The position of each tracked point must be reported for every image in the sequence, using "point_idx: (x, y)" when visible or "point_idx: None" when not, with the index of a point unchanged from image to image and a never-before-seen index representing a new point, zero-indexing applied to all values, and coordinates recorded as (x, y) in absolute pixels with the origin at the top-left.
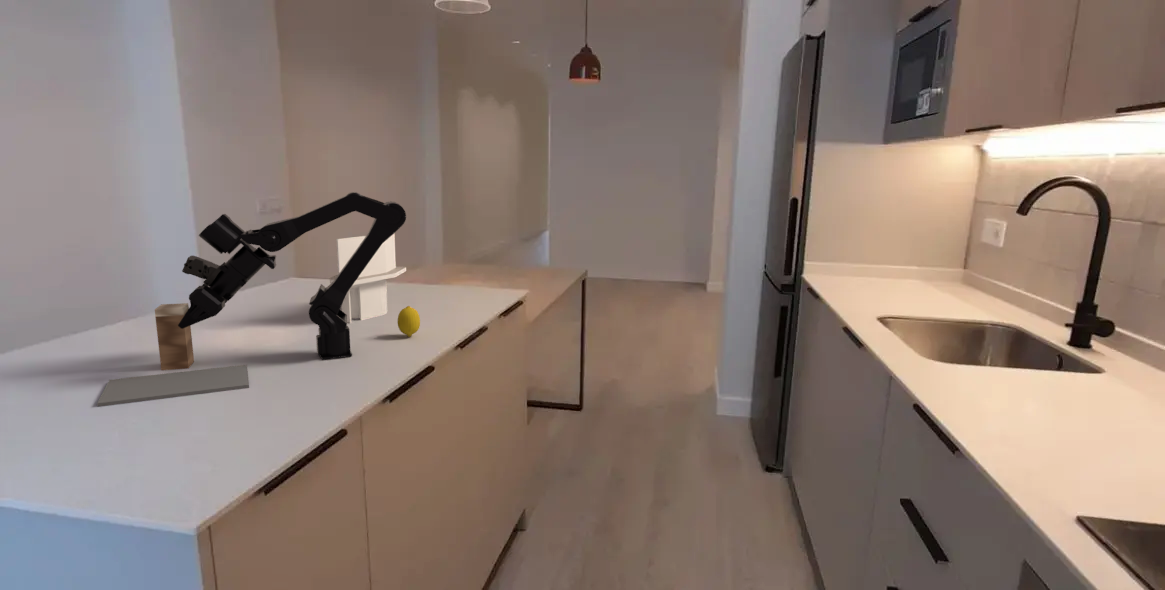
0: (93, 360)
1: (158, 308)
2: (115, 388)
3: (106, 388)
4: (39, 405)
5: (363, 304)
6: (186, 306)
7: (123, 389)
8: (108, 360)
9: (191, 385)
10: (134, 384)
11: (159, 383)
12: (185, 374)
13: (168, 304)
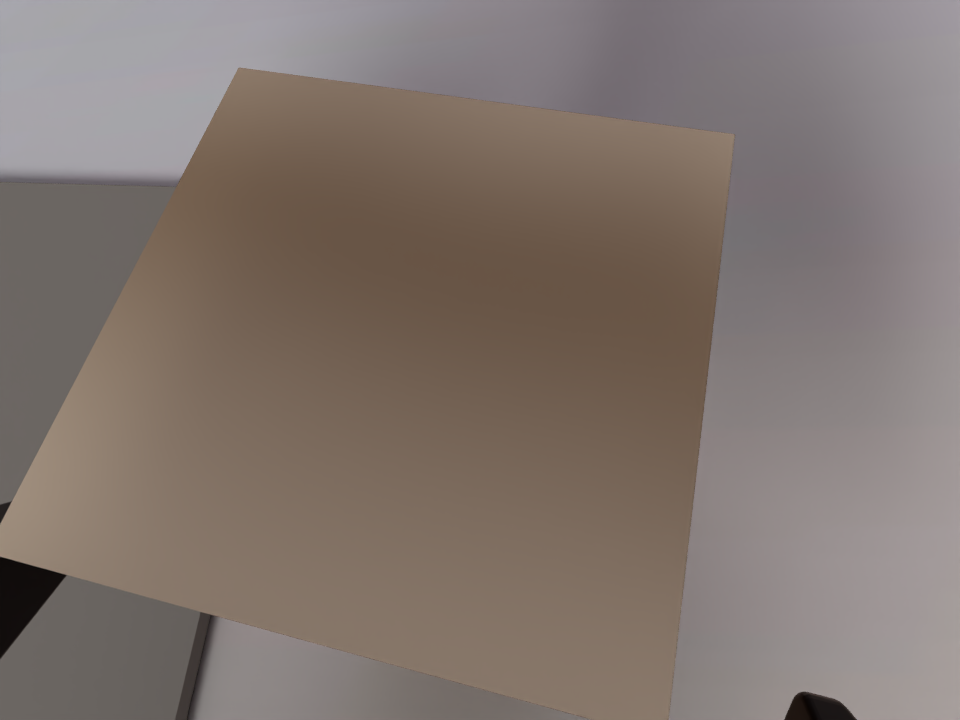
0: (847, 93)
1: (292, 113)
2: (105, 227)
3: (137, 191)
4: (132, 16)
5: None
6: (407, 667)
7: (56, 261)
8: (820, 155)
9: None
10: (114, 304)
11: (26, 429)
12: (120, 592)
13: (668, 255)
